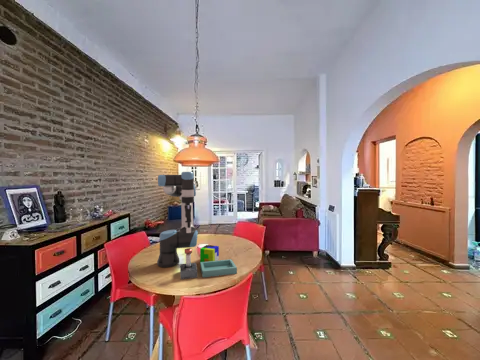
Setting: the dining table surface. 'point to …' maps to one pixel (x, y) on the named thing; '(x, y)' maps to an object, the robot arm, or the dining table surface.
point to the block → (188, 271)
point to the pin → (188, 257)
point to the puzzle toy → (209, 253)
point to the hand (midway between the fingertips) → (188, 230)
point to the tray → (218, 268)
